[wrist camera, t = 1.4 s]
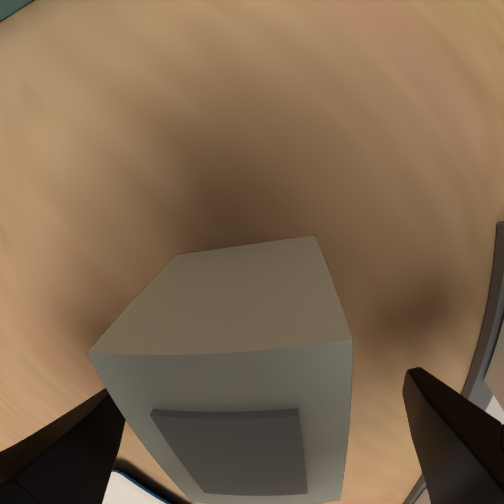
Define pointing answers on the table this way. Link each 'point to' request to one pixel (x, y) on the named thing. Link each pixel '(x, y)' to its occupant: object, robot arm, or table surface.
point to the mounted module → (497, 370)
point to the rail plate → (483, 350)
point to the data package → (11, 7)
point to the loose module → (238, 373)
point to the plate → (128, 491)
